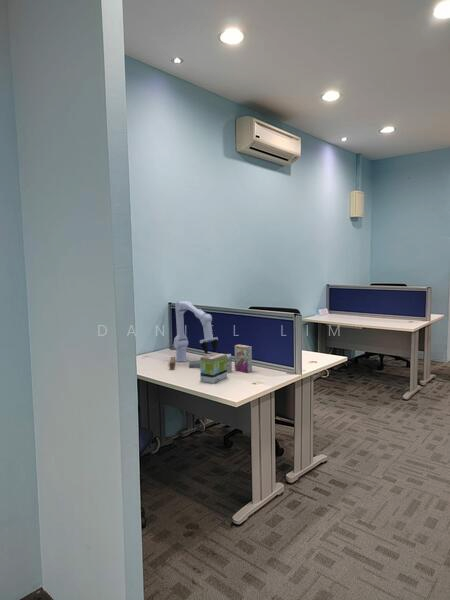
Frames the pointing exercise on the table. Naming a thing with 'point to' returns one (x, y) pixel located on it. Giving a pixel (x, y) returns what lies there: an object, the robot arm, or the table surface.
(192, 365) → the steel slab
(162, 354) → the table surface
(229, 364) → the light bulb box
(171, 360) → the stop bar
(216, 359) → the tea box
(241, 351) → the candy bar box
